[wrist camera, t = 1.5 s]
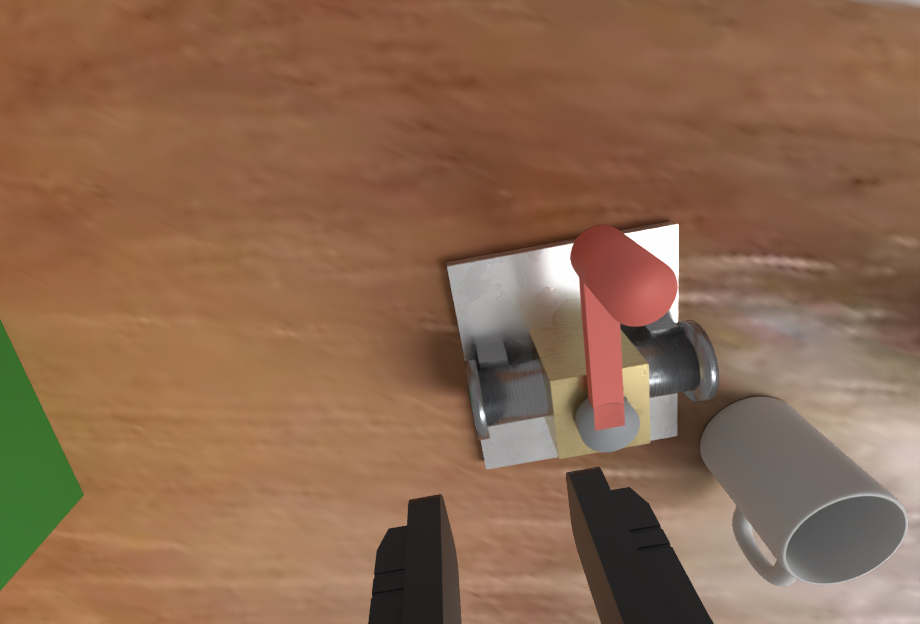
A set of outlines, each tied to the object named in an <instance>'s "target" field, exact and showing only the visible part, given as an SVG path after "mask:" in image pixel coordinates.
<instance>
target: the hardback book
mask: <svg viewBox="0 0 920 624" xmlns="http://www.w3.org/2000/svg"><path fill="white" fill-rule="evenodd" d="M83 495H84V494H83V492H82V490H81V488H80V486H79V484H78V481H77V479H76V477H75V475H74V473H73V471H72V469H71V467H70V465H69V463H68V461H67V458H66V456H65V454H64V452H63V450H62V448H61V446H60V444H59V442H58V440H57V437H56V435H55V433H54V431H53V429H52V427H51V425H50V423H49V421H48V419H47V417H46V414H45V412H44V410H43V408H42V406H41V404H40V402H39V400H38V398H37V396H36V394H35V391H34V389H33V387H32V385H31V383H30V381H29V379H28V377H27V375H26V373H25V370H24V368H23V366H22V364H21V362H20V360H19V358H18V356H17V354H16V352H15V350H14V347H13V345H12V343H11V341H10V339H9V337H8V335H7V333H6V331H5V329H4V326H3V324H2V322H1V320H0V591H1V589H2V588H3V587H4V586H5V585H6V584H7V583H8V581H9V580H10V579H11V578H12V577H13V576H14V574H15V573H16V572H17V571H18V570H19V569H20V568H21V566H22V565H23V564H24V563H25V562H26V561H27V560H28V558H29V557H30V556H31V555H32V554H33V553H34V551H35V550H36V549H37V548H38V547H39V546H40V545H41V543H42V542H43V541H44V540H45V539H46V538H47V537H48V535H49V534H50V533H51V532H52V531H53V530H54V529H55V527H56V526H57V525H58V524H59V523H60V522H61V520H62V519H63V518H64V517H65V516H66V515H67V514H68V512H69V511H70V510H71V509H72V508H73V507H74V506H75V504H76V503H77V502H78V501H79V500H80V499H81V498H82V496H83Z"/></svg>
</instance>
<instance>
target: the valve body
mask: <svg viewBox="0 0 920 624" xmlns="http://www.w3.org/2000/svg"><path fill="white" fill-rule="evenodd" d="M620 231H621V232H622V233H624V234H625V235H627V236H628V237H630V238H631V239H632V240H634V241H635V242H637V243H638V244H639V245H641V246H642V247H644V248H645V249H646V250H648V251H649V252H651V253H652V254H654V255H655V256H656V257H658V258H659V259H661V260H662V261H663V262H665V263H666V264H668V265H669V266H670V267H671V268H672V270H673V271H674V273H675V275H676V277H677V281H678V224H677V223H675V222H673V221H668V222H662V223H657V224H652V225H646V226H641V227H635V228H630V229H624V230H620ZM576 239H577V238H575V239H570V240H565V241H559V242H554V243H548V244H543V245H537V246H532V247H527V248H521V249H516V250H510V251H505V252H499V253H494V254H489V255H483V256H478V257H472V258H467V259H461V260H456V261H450V262H446V263H447V270H448V275H449V280H450V285H451V291H452V296H453V301H454V306H455V311H456V316H457V321H458V327H459V332H460V337H461V342H462V347H463V352H464V357H465V361H464V363H465V371H466V377H467V384H468V390H469V395H470V401H471V407H472V412H473V418H474V423H475V428H476V433H477V437H478V440H481V445H482V450H483V455H484V460H485V466H486V470H487V469H492V468H498V467H504V466H509V465H515V464H521V463H527V462H532V461H538V460H544V459H549V458H555V457H559V459H563V458H569V457H574V456H580V455H586V454H591V453H597V452H598V451H595V450H592V449H590V448H589V447H588V446H586V445H585V443H584V442H583V440H582V438H581V436H580V434H579V432H578V429H577V427H576V424H575V415H576V412H577V409H578V408H579V406H580V405H581V403H582V402H583V401H584V400H586V399H587V398H588V386H587V374H586V361H585V349H584V337H583V325H582V312H581V300H580V288H579V276H578V275H577V274H576V273H575V271H574V270H573V268H572V265H571V261H570V253H571V248H572V246H573V244H574V242H575V240H576ZM620 329H621V350H622V372H623V393H624V397H626V398H627V399H628V400H629V402H630V403H631V405H632V406H633V408H634V409H635V411H636V413H637V414H638V416H639V419H640V427H639V431H638V433H637V435H636V437H635V438H634V439H633V441H632V442H631V443H629V444H628V445H627V446H625V447H624V448H626V447H631V446H637V445H643V444H648V443H650V441H652V440H657V439H663V438H669V437H674V436H677V393H682V392H684V394H685V395H686V396H687V397H688V398H689V399H690V400H692V401H694V402H700V401H705V400H710V399H712V398H714V396H715V395H716V393H717V390H718V385H719V370H718V364H717V359H716V355H715V352H714V349H713V346H712V344H711V342H710V339H709V337H708V336H707V334H706V332H705V331H704V330H703V328H702V327H701V326H700V325H699V324H698V323H696V322H695V321H692V320H687V321H682V322H678V292H677V296H676V299H675V301H674V303H673V305H672V307H671V308H670V309H669V311H668V312H667V313H666V314H665V315H664V316H663V317H661V318H660V319H658V320H657V321H655V322H653V323H651V324H648V325H644V326H638V327H633V326H627V325H624V324H621V323H620Z"/></svg>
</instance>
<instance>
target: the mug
mask: <svg viewBox="0 0 920 624" xmlns="http://www.w3.org/2000/svg"><path fill="white" fill-rule="evenodd" d="M700 453H701V456H702V459H703V461H704V463H705V465H706V467H707V468H708V469H709V471H710V472H711V473H712V475H713V476H714V477H715V478H716V480H717V481H718V482H719V483H720V485H721V486H722V487H723V488H724V490H725V491H726V492H727V494H728V495H729V496H730V498H731V499H732V500H733V501H734V503H735V504H736V509H735V511H734V515H733V520H732V526H733V531H734V535H735V538H736V540H737V542H738V544H739V546H740V548H741V550H742V552H743V553H744V555H745V556H746V558H747V559H748V561H749V562H750V564H751V565H752V566H753V567H754V569H755V570H756V571H757V572H758V573H759V574H760V575H761V576H762V577H763V578H764V579H765V580H767V581H768V582H770V583H771V584H774V585H777V586H789V585H791V584H792V583H793V582H794V581H795V580H796V579H797V580H800V581H802V582H805V583H809V584H816V585H830V584H837V583H842V582H846V581H850V580H853V579H855V578H858V577H860V576H863V575H865V574H867V573H869V572H870V571H872V570H874V569H875V568H877V567H878V566H880V565H881V564H883V563H884V562H885V561H886V560H887V559H889V558H890V557H891V556H892V555H893V554H894V553H895V551H896V550H897V549H898V548H899V546H900V545H901V543H902V541H903V539H904V537H905V535H906V532H907V528H908V517H907V513H906V511H905V509H904V507H903V505H902V504H901V503H900V502H899V501H898V500H897V499H896V498H895V497H894V496H893V495H892V494H891V493H890V492H889V491H888V490H886V489H885V488H884V487H883V486H882V485H881V484H879V483H878V482H877V481H876V480H875V479H874V478H872V477H871V476H870V475H869V474H868V473H867V472H865V471H864V470H863V469H862V468H861V467H860V466H858V465H857V464H856V463H855V462H854V461H853V460H852V459H850V458H849V457H848V456H847V455H846V454H845V453H843V452H842V451H841V450H840V449H839V448H838V447H836V446H835V445H834V444H833V443H832V442H831V441H829V440H828V439H827V438H826V437H825V436H824V435H823V434H821V433H820V432H819V431H818V430H817V429H816V428H815V427H813V426H812V425H811V424H810V423H809V422H808V421H807V420H806V419H805V418H804V417H802V416H801V415H800V414H799V413H798V412H797V411H796V410H795V409H793V408H792V407H791V406H789V405H788V404H787V403H785V402H783V401H781V400H778V399H776V398H771V397H751V398H746V399H742V400H740V401H737V402H735V403H733V404H731V405H729V406H727V407H726V408H724V409H723V410H721V411H720V412H719V413H718V414H716V415H715V416H714V417H713V418H712V420H711V421H710V422H709V423H708V425H707V426H706V428H705V430H704V432H703V435H702V437H701V442H700ZM752 527H753V528H754V530H755V531H756V532H757V534H758V535H759V536H760V538H761V539H762V540H763V542H764V543H765V544H766V546H767V547H768V548H769V550H770V551H771V552H772V554H773V555H774V556H775V558H776V559H777V561H776V563H775V565H774V566H773V565H772V564H771V563H770V562H769V561H768V560H767V559H766V558H765V556H764V555H763V554H762V552H761V551H760V549H759V548H758V546H757V544H756V542H755V540H754V537H753V533H752Z"/></svg>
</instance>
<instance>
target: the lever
mask: <svg viewBox="0 0 920 624" xmlns="http://www.w3.org/2000/svg"><path fill="white" fill-rule="evenodd" d="M570 261H571V265H572V268H573V270H574V271H575V273H576V274H577V275H578V276H579V288H580V300H581V312H582V325H583V337H584V349H585V361H586V374H587V386H588V398H587V399H586V400H584V401H583V402H582V403H581V405H580V406H579V408H578V409H577V412H576V415H575V424H576V427H577V429H578V432H579V434H580V436H581V438H582V440H583V442H584V443H585V445H586V446H588V447H589V448H590V449H592V450H595V451H598V452H613V451H617V450H619V449H622V448H624V447H625V446H627V445H628V444H629V443H631V442H632V441H633V439H634V438H635V437H636V435H637V433H638V431H639V427H640V419H639V416H638V414H637V413H636V411H635V409H634V408H633V406H632V405H631V403H630V402H629V400H628V399H627V398H626V397H624V393H623V372H622V350H621V329H620V323H621V324H624V325H627V326H633V327H638V326H644V325H648V324H651V323H653V322H655V321H657V320H658V319H660V318H661V317H663V316H664V315H665V314H666V313H667V312H668V311H669V309H670V308H671V307H672V305H673V303H674V301H675V299H676V296H677V292H678V281H677V277H676V275H675V273H674V271H673V270H672V268H671V267H670V266H669V265H668V264H666V263H665V262H663V261H662V260H661V259H659V258H658V257H656V256H655V255H654V254H652V253H651V252H649V251H648V250H646V249H645V248H644V247H642V246H641V245H639V244H638V243H637V242H635V241H634V240H632V239H631V238H630V237H628V236H627V235H625V234H624V233H622V232H621V231H620V230H618V229H617V228H615V227H612V226H609V225H597V226H593V227H591V228H589V229H587V230H585V231H584V232H582V233H581V234H580V235H579V236H578V237H577V239H576V240H575V242H574V244H573V246H572V248H571V253H570Z"/></svg>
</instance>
